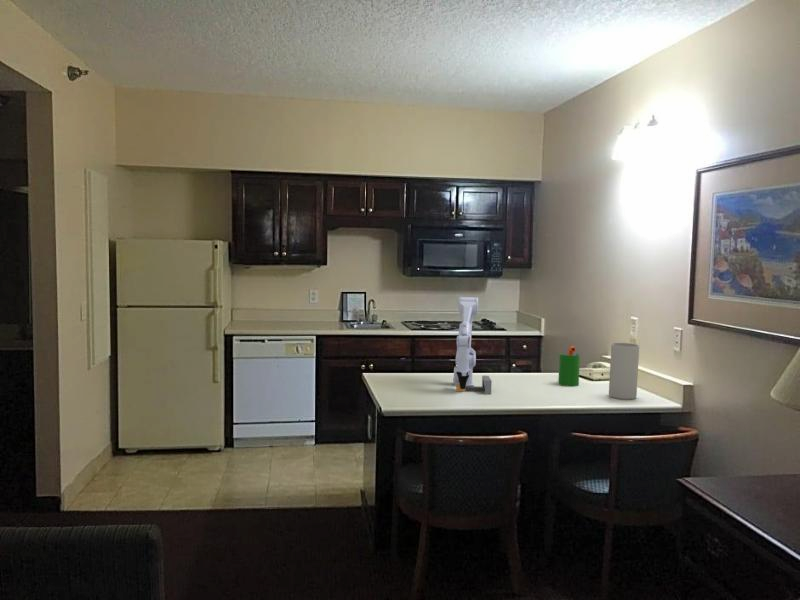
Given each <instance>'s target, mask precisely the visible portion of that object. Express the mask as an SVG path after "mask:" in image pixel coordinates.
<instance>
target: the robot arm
mask: <svg viewBox="0 0 800 600" xmlns="http://www.w3.org/2000/svg"><path fill="white" fill-rule="evenodd" d="M457 306H458V312H459V314H460V315H462V319H461V320H462V321H461V322H460V323H459V326H458V327H459V328H458V335H457V336H456V355H455V365H456V366H454V368H453V379H452V381H453V384H454V385H453V386H457V383H460V389H465V387H466V386H475V385H474V383H473V374H474V373H473V371H474V370H473V369H474V367H476V364H477V363H476V362H477V361H476V360H477V353H476V350H474V348H472V331H473V321H474V320H473V319H474V316H476V315H478V312H479V297H478V296H476V297H471V296H470V297H468V296H459V297H458V302H457Z"/></svg>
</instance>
